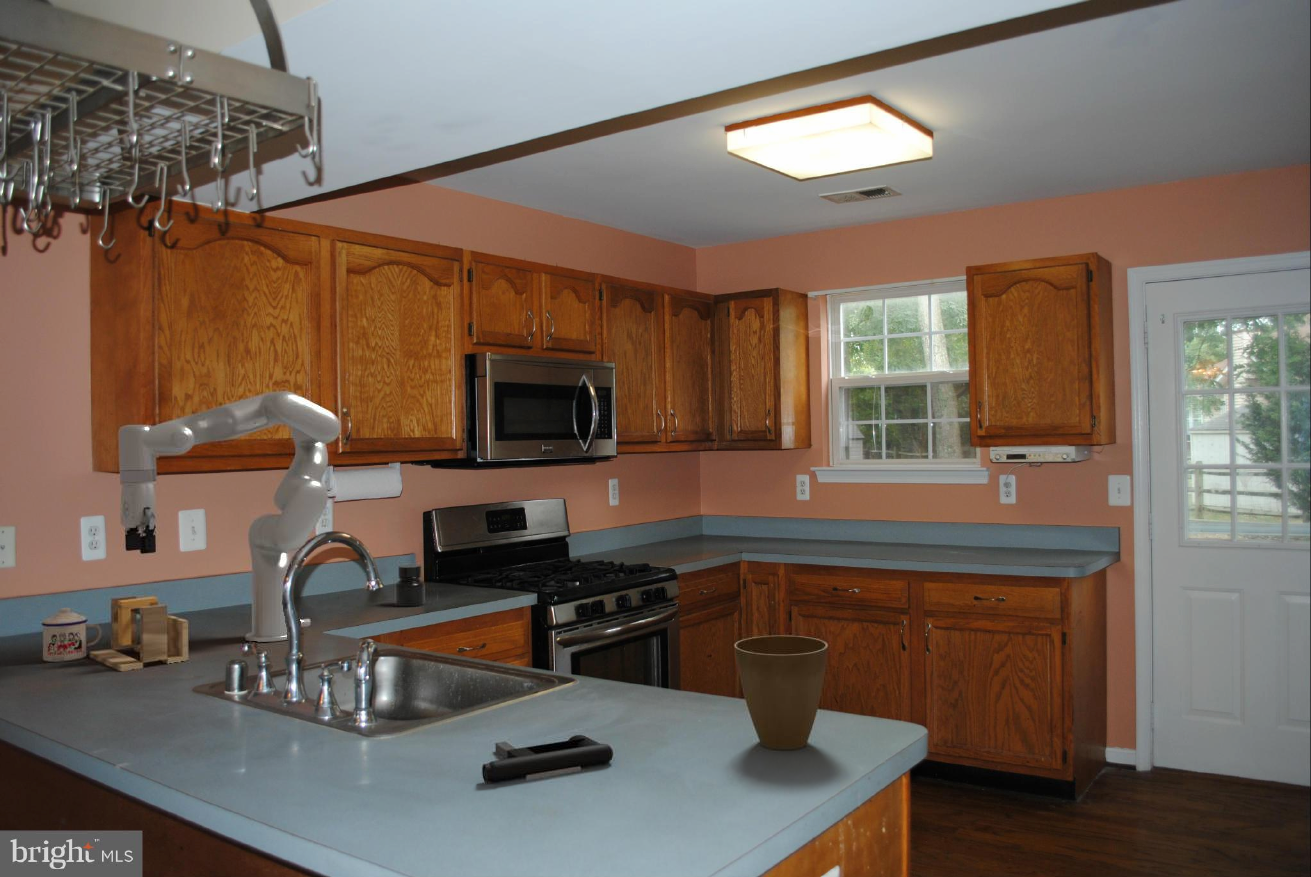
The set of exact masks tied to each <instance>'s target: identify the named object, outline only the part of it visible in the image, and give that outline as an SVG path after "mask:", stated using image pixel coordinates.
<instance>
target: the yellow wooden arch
mask: <svg viewBox="0 0 1311 877" xmlns="http://www.w3.org/2000/svg"><path fill="white" fill-rule="evenodd" d="M156 605H159V598H158V597H156V596H146V597H137V599H129V600H120V601H118V644H120V645H122V646H124V645H130V644H131V609H135V608H140V607H148V606H156Z"/></svg>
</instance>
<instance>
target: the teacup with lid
mask: <svg viewBox="0 0 1311 877" xmlns="http://www.w3.org/2000/svg"><path fill="white" fill-rule="evenodd" d="M87 622H88V618H87V616H85V615H81V614H78V613H77V612H74V611H71V608H70V607H61V608H60V609H59V612H57V613H54V615H51V617H48V618H45V619H43V620H42V622H41V626H42V660H43V661H45V662H51V663H55V662H57V663H58V662H59V663H61V662H70V661H75V660H76V661H77V660H80V659H83V658H85V657H86V656H87V647H90V646H94V645H96V644H97V643H98V642H99V641H100V639H101V637H102V635H103V630H102V628H101V626H99V625H98V624H94V623H92V624H91V623H90V624H89V623H87ZM88 628H95V629H97V631H98V634H97V637H96V638H95V639H94V640H93V641H90V642H87V629H88Z"/></svg>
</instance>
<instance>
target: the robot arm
mask: <svg viewBox="0 0 1311 877" xmlns="http://www.w3.org/2000/svg"><path fill="white" fill-rule="evenodd" d="M278 425H279V426H280V425H286V426H288V427H289V432H290V436H291V437H292V440H293V443H294V448H295V454H294V458H293V460H292V462H291V464H290V466H289V468H288V469H287V471H286V473H285V474H284V477H283V478H282V479H281V481H280V483H279V485H278V486H277V487H276V490H275V492H274V496H273V504H274V505H275V507H276V509H278V510H279V511H280V512H281V513H280V514H275V513H268V514H267V513H266V514H263V515H260V516H259V517H257V518H255V520H253V521H252V523H251V524H250V526H249V529H248V538H247V539H248V546H249V551H250V558H251V627H252V628H251V631H250V632H247V633H246V634H245V641H248V642H252V641H257V642H256V643H264V642H265V643H268V642H270V643H271V642H280V641H287V640H288V639H287V627H286V623H285V616H284V612H283V605H282V588H283V580H284V578H285V575H286V573H287V569H288V566H289V564H290V561H291V562H292V560H291V559H292V558H291V555H290V554H293V553H295V552H298V551H299V550H300V549H299V548H301V547H302V546H303V545H304V546H305V545H306V543H307V541H308V540H309V538H310V537H311V536H312V533H313V531H314V530H315V528H316V526H317V524H318V523H319V521H320V519H321V517H322V515H323V514H324V512H325V509H326V507H327V504H328V498H329V497H328V496H329V495H328V490H327V487H326V486H325V485H324V483H322V481H321V480H322V478H323V476H324V475H325V472H326V470H327V467H328V465H329V454H328V449H327V444H330V443H332V442H334V441H335V440H336V439H338V437H339V435H340V434H341V429H342V425H341V422H340V420H339V417H337V416H336V414H334V413H333V412H332V411H330V410H328V409H326V408H325V407H322V406H321V405H318V404H317V403H314V402H313V401H311V400H309V399H306V398H305V397H303V396H301V395H299V394H296V393H295V392H292V391H288V390H282V391H279V390H278V391H272V392H266V393H262V394H258V395H255V396H252V397H248V398H244V399H242V400H238V401H234V402H231V403H227V404H223V405H220V406H216V407H212V408H210V409H207V410H203V411H200V412H197V413H193V414H189V415H185V416H183V417H179V418H176V419H172V420H168V421H164V422H162V423H158V424H155V425H150V424H127V425H123V426H121V427H120V428H119V429H118V458H119V459H118V460H119V465H118V466H119V486H121V491H120V492H121V493H120V495H121V496H120V525H121V526H122V527H124V537H125V539H124V542H125V546H124V547H125V551H126V552H132V551H139V553H140V554H142V555H144V554H155V553H156V551H157V548H156V547H157V545H156V544H157V539H156V534H157V533H156V532H157V531H156V522H157V509H156V508H157V504H156V494H155V486H154V485H156V484H158V483H157V482H158V479H157V478H158V477H157V455H158V456H178V455H179V456H180V455H183V454H185V453H187V452H189V451H190V450H191V449H192V448H193V447H194V446H197V445H199V444H204V443H210V442H211V443H212V442H219V441H220V442H221V441H228V440H231V439H235V438H236V439H237V438H238V437H239V438H240V437H242V436H245V435H249V434H251V433H254V432H258V431H260V430H265V429H267V428H270V427H273V426H278ZM304 546H303V547H304ZM303 547H302V548H303ZM302 548H301V549H302ZM299 619H300V621H301V628H302V627H303V628H304V627H310V626H311V622H312V621H311V619H310V618H303V619H301V618H299Z"/></svg>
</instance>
